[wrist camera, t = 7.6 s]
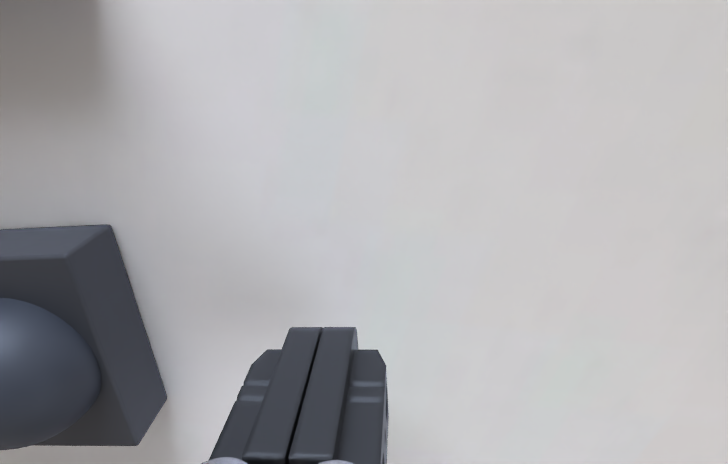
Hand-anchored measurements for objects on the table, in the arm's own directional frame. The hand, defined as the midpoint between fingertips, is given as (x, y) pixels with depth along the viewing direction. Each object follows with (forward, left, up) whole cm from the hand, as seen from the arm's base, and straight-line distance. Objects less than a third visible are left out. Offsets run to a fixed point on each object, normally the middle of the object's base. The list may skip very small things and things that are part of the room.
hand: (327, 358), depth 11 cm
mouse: (-9, 0, -2) cm, 10 cm away
